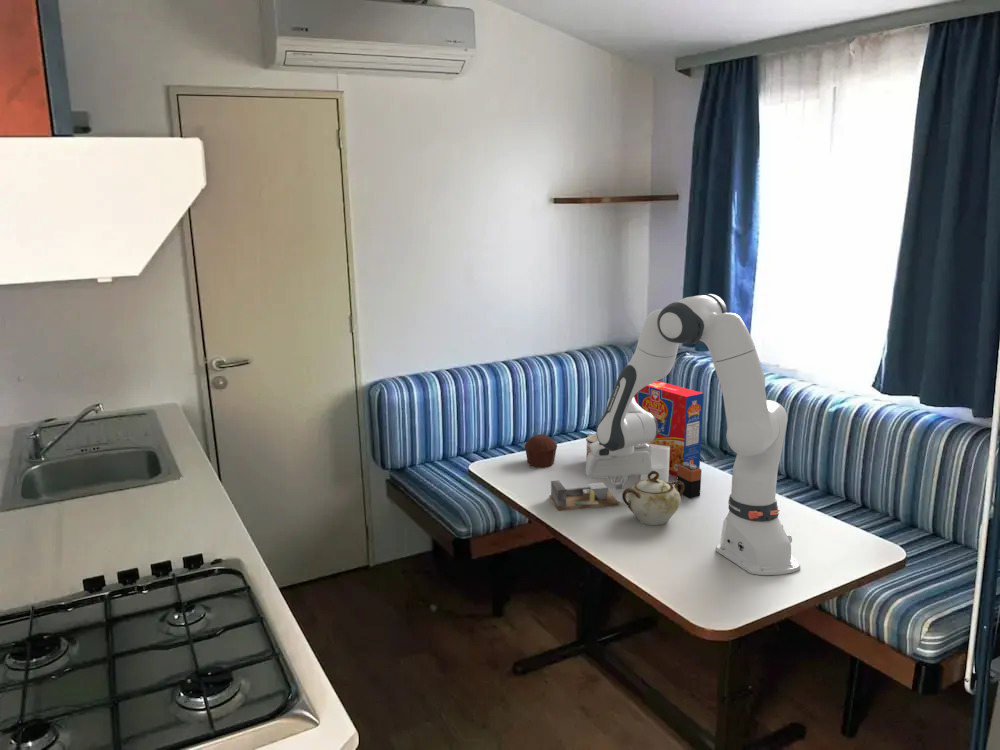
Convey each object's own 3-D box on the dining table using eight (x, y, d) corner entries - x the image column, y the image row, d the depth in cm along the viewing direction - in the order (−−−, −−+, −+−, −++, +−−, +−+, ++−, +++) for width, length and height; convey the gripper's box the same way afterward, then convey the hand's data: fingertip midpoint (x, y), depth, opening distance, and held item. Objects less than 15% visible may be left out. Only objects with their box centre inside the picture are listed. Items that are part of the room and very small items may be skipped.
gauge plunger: (602, 493, 249) (603, 482, 248) (610, 502, 243) (610, 491, 242) (580, 495, 248) (581, 484, 247) (587, 504, 241) (588, 492, 240)
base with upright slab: (671, 479, 265) (673, 444, 262) (663, 488, 257) (665, 452, 254) (645, 474, 269) (646, 440, 266) (636, 483, 261) (637, 448, 258)
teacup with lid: (581, 460, 283) (582, 428, 280) (605, 457, 286) (606, 425, 283) (595, 471, 272) (596, 438, 269) (620, 468, 274) (621, 435, 272)
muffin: (557, 469, 274) (557, 441, 271) (524, 469, 274) (524, 441, 272) (556, 458, 285) (556, 431, 283) (524, 458, 286) (524, 430, 283)
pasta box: (623, 456, 287) (625, 380, 280) (639, 452, 291) (642, 376, 285) (682, 479, 264) (686, 396, 258) (699, 474, 269) (703, 393, 262)
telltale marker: (592, 499, 243) (592, 490, 242) (594, 501, 242) (594, 492, 241) (589, 500, 243) (589, 490, 242) (591, 502, 241) (591, 492, 241)
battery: (689, 499, 248) (690, 468, 245) (675, 491, 254) (677, 461, 251) (700, 496, 249) (702, 466, 247) (686, 489, 255) (688, 459, 253)
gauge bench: (608, 493, 253) (608, 475, 251) (618, 505, 243) (619, 486, 242) (549, 498, 249) (549, 479, 248) (557, 510, 240) (558, 491, 238)
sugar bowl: (633, 534, 223) (635, 483, 220) (610, 514, 237) (611, 465, 233) (696, 525, 229) (699, 475, 225) (670, 505, 243) (672, 458, 239)
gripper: (648, 440, 249) (646, 482, 253) (584, 444, 246) (583, 487, 249) (655, 447, 243) (654, 490, 247) (590, 451, 240) (589, 495, 243)
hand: (618, 488), depth 248 cm, fingers closed
